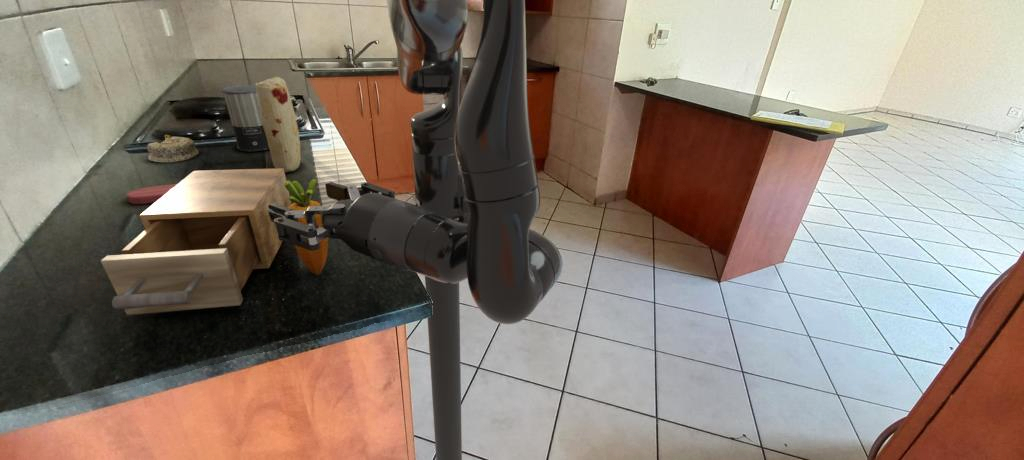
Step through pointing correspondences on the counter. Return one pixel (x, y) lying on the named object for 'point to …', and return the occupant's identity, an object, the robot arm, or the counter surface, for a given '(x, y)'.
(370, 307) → the counter surface
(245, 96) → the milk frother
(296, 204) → the carrot
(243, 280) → the drawer
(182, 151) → the cake
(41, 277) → the counter surface
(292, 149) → the food model
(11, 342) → the counter surface
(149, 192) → the popsicle
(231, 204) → the cabinet
